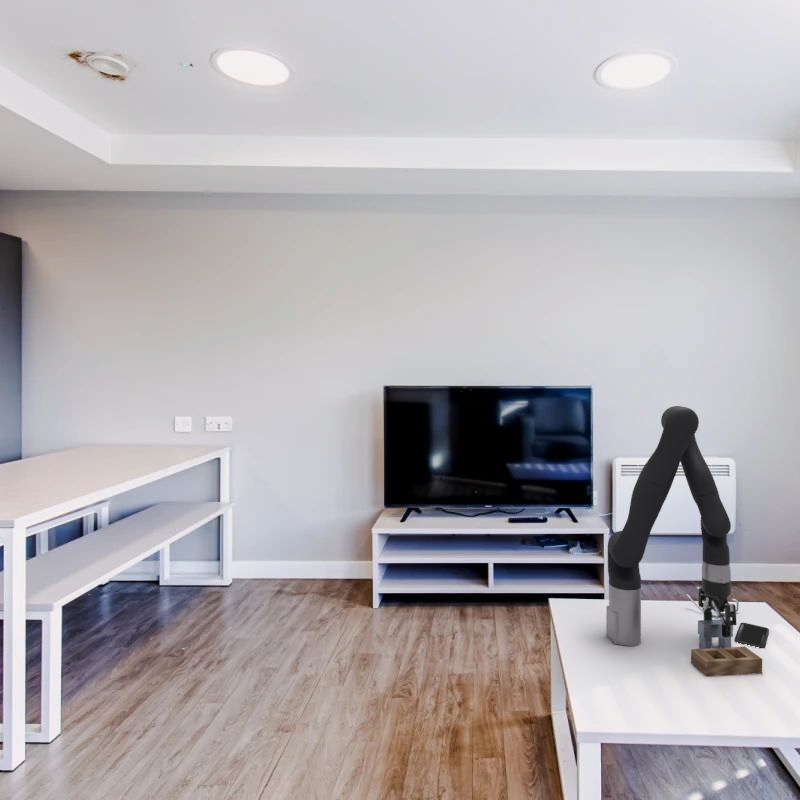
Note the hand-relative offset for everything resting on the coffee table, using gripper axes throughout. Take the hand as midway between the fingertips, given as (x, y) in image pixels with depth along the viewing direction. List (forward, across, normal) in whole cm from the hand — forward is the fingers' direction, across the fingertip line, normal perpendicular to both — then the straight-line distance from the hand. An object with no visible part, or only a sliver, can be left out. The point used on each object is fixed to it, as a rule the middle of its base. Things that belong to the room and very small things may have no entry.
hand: (716, 630), depth 168 cm
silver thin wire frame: (+6, -24, +14) cm, 29 cm away
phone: (+6, -6, +15) cm, 18 cm away
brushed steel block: (+6, 0, -1) cm, 6 cm away
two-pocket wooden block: (+5, +11, -5) cm, 13 cm away
